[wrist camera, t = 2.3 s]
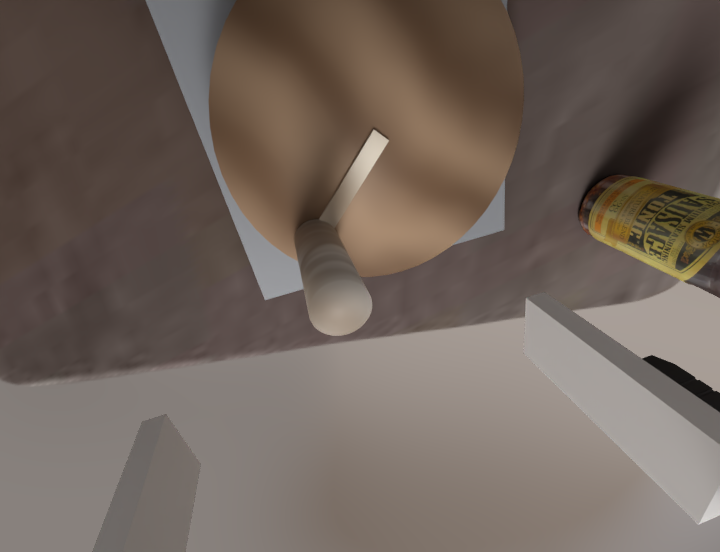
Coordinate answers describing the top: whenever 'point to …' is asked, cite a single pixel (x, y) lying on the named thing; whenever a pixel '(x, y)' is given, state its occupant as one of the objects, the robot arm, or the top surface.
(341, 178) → the handwheel
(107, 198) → the top surface
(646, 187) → the sauce bottle
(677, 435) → the robot arm
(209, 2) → the wheel stand
